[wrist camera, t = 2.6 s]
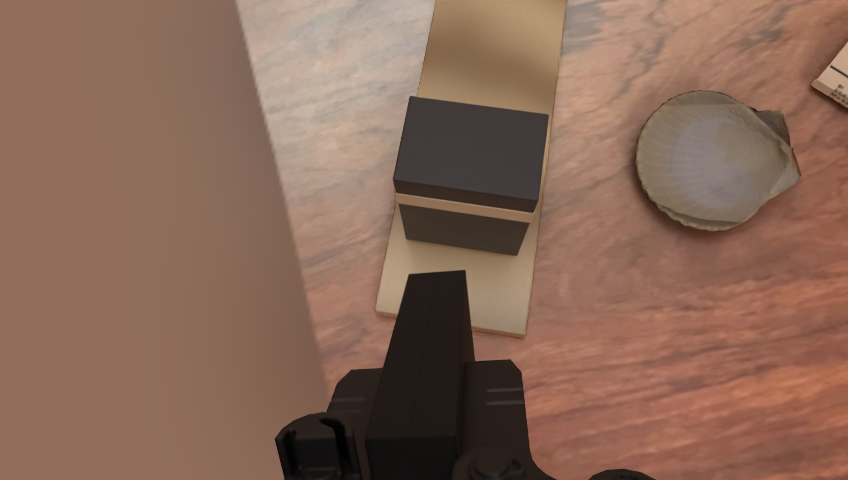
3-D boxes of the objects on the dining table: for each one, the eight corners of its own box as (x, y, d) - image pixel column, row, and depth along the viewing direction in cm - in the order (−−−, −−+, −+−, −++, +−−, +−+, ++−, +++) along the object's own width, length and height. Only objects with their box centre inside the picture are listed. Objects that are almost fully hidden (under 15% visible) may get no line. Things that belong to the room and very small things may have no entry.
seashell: (625, 131, 38) (639, 241, 34) (629, 95, 35) (645, 210, 31) (771, 120, 36) (805, 234, 32) (786, 82, 34) (826, 201, 29)
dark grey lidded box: (518, 257, 32) (539, 202, 25) (404, 240, 33) (391, 180, 25) (527, 186, 33) (550, 112, 26) (417, 170, 34) (408, 94, 26)
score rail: (523, 338, 32) (533, 325, 29) (376, 314, 33) (366, 298, 29) (578, -101, 41) (591, -156, 37) (460, -113, 42) (461, -168, 38)
